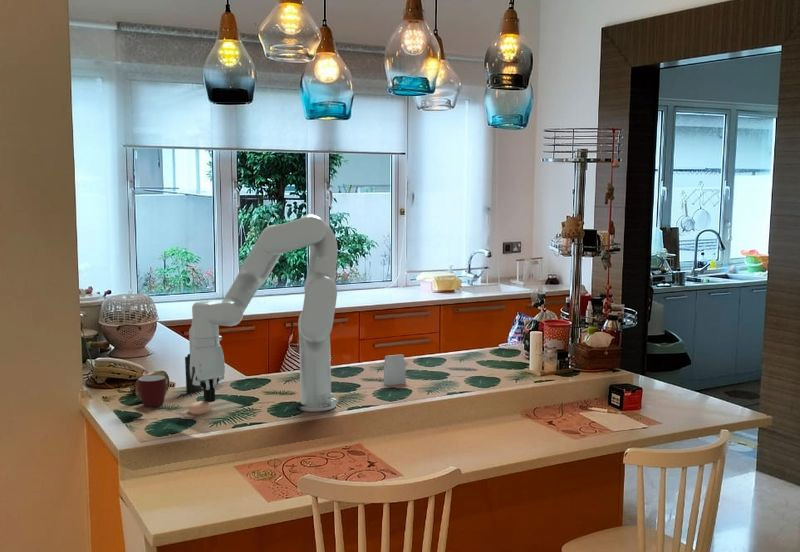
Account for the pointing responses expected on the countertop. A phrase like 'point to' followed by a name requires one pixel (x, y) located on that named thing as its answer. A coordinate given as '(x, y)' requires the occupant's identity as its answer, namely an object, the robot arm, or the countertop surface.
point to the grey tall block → (394, 370)
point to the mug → (152, 390)
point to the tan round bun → (199, 407)
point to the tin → (150, 375)
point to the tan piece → (212, 408)
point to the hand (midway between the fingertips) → (209, 401)
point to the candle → (189, 382)
